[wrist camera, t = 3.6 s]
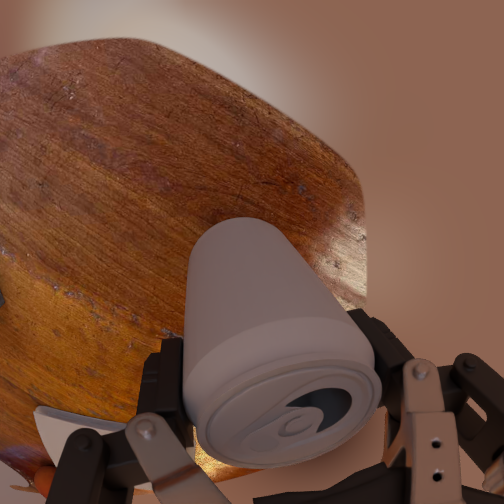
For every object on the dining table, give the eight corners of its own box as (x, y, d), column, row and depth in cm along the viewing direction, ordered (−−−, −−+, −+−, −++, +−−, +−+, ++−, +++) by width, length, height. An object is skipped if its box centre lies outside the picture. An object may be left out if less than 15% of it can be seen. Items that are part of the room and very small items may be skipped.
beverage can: (306, 272, 19) (408, 411, 8) (226, 324, 20) (259, 487, 9) (256, 192, 17) (361, 297, 6) (166, 254, 17) (133, 425, 6)
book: (193, 477, 36) (195, 496, 32) (61, 456, 31) (56, 473, 27) (196, 429, 31) (197, 455, 27) (30, 400, 26) (21, 421, 22)
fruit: (33, 462, 32) (25, 492, 24) (48, 456, 31) (39, 490, 23) (69, 483, 35) (64, 513, 27) (88, 479, 34) (84, 512, 27)
